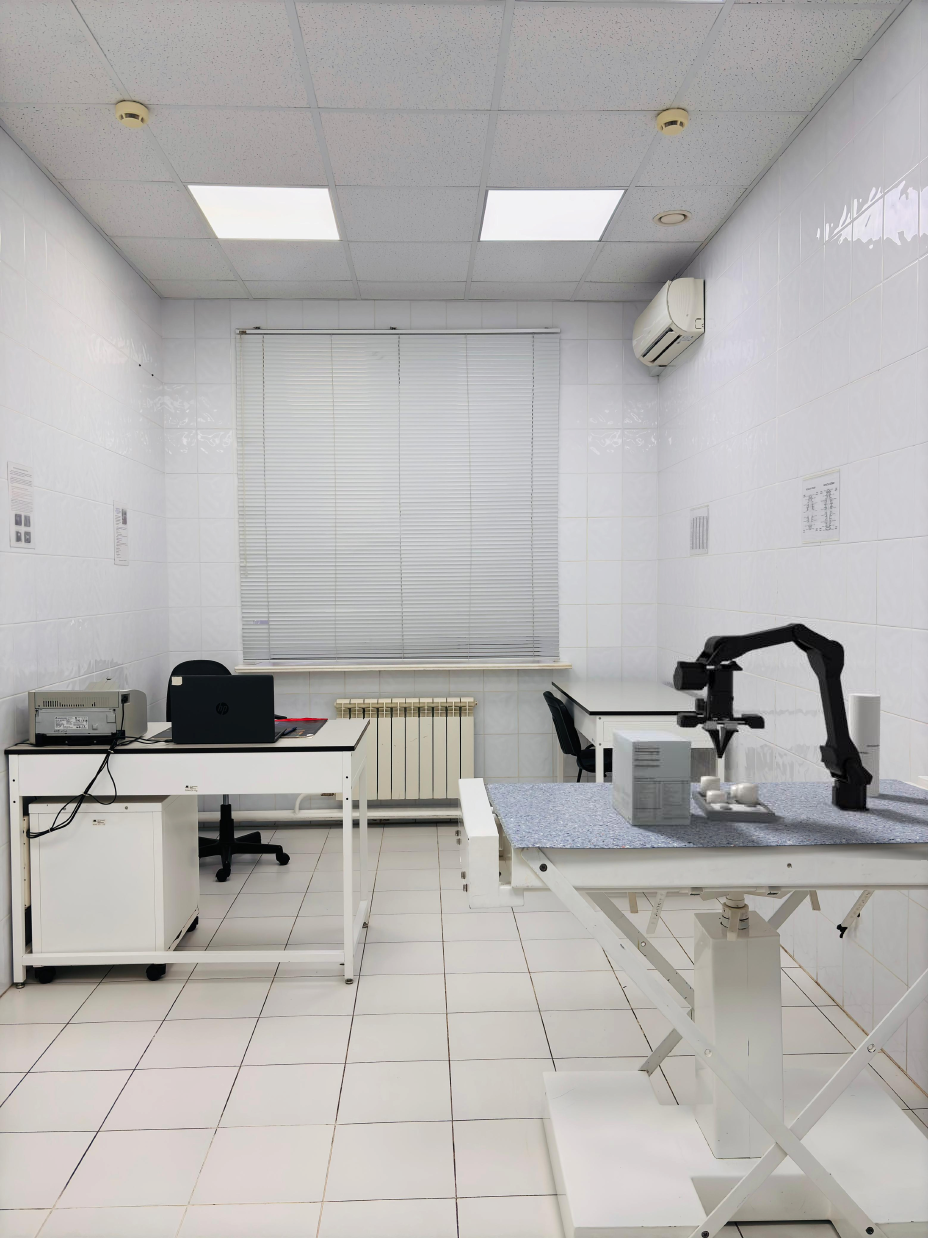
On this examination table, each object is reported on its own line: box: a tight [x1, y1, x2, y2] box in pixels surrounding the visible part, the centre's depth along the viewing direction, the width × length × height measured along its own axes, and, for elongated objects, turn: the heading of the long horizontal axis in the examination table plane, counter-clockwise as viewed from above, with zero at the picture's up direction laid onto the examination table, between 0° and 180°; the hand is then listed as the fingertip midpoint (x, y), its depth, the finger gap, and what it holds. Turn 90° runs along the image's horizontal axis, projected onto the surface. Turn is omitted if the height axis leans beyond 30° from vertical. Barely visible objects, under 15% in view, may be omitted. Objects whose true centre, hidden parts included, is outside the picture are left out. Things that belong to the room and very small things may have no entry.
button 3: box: [730, 784, 738, 798], centre depth 192 cm, size 4×4×4 cm
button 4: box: [737, 782, 759, 805], centre depth 185 cm, size 4×4×4 cm
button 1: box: [700, 775, 721, 796], centre depth 192 cm, size 4×4×4 cm
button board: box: [691, 790, 776, 823], centre depth 186 cm, size 14×20×2 cm
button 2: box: [707, 790, 727, 804], centre depth 185 cm, size 4×4×4 cm
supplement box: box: [611, 729, 692, 826], centre depth 180 cm, size 17×13×18 cm
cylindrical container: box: [848, 692, 881, 798], centre depth 204 cm, size 7×7×25 cm
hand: (719, 758), depth 186 cm, fingers closed
